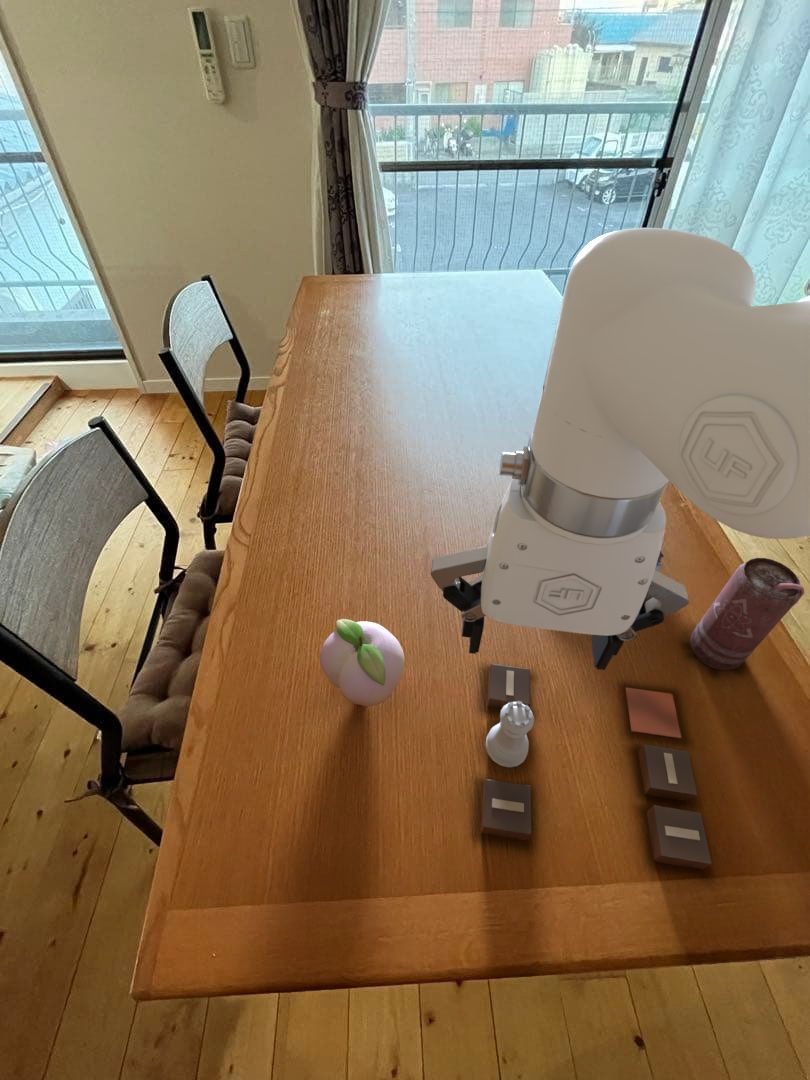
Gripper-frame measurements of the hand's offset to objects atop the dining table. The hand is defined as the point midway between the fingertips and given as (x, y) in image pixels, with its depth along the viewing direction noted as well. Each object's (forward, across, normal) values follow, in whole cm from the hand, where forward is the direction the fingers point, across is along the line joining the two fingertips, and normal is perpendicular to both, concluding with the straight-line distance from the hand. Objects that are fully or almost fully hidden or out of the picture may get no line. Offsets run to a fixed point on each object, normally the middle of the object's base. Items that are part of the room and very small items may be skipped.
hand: (535, 645), depth 44 cm
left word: (+20, +1, 0) cm, 20 cm away
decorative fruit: (+20, -15, +6) cm, 26 cm away
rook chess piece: (+20, +1, 0) cm, 20 cm away
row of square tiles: (+20, +17, 0) cm, 26 cm away
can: (+20, +26, +16) cm, 37 cm away
